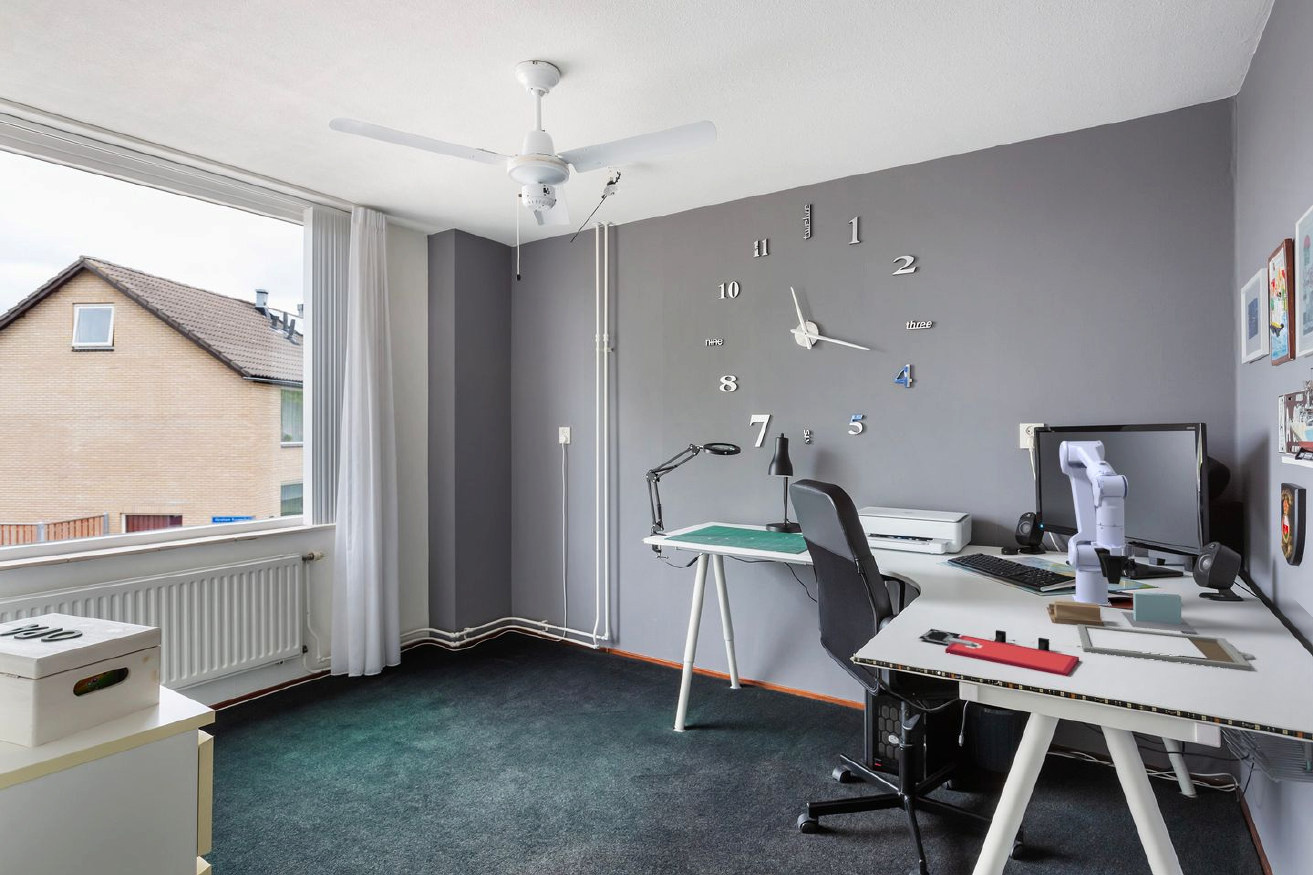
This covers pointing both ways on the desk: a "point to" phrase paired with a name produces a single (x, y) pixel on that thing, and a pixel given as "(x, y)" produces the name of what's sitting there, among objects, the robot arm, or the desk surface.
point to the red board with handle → (1005, 652)
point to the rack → (1072, 619)
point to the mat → (1160, 625)
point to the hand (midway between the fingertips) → (1110, 580)
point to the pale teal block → (1157, 607)
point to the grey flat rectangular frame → (1211, 647)
